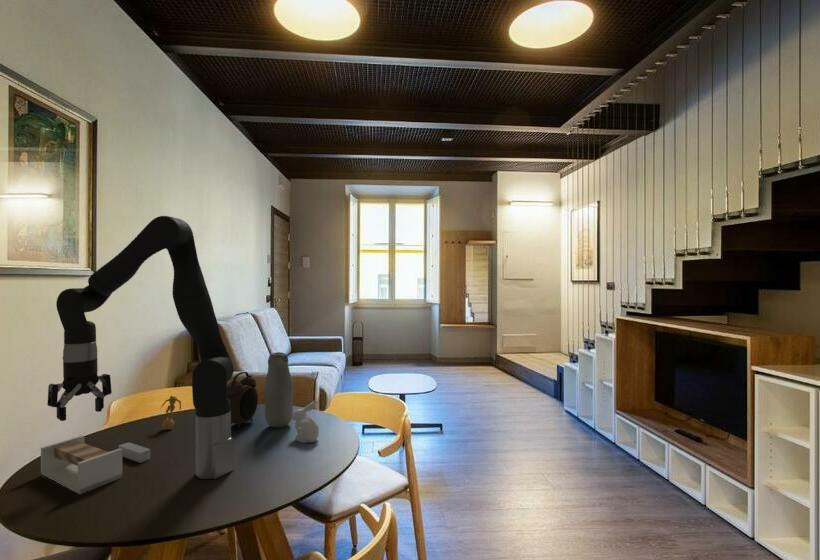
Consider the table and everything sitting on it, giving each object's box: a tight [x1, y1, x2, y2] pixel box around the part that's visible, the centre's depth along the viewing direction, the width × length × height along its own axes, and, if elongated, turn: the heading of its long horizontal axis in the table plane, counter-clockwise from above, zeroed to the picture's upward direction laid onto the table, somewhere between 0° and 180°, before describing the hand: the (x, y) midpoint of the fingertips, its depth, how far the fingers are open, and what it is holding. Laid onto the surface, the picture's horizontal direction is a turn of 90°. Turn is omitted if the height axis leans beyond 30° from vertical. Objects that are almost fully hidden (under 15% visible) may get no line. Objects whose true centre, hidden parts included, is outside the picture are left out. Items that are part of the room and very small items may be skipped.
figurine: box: [160, 395, 182, 431], centre depth 150 cm, size 8×6×12 cm
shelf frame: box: [40, 434, 123, 495], centre depth 113 cm, size 22×10×8 cm, turn 63°
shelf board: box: [54, 441, 109, 466], centre depth 114 cm, size 18×6×2 cm, turn 63°
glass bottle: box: [263, 352, 294, 429], centre depth 152 cm, size 10×10×28 cm
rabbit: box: [291, 400, 320, 444], centre depth 140 cm, size 12×9×12 cm
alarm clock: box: [227, 371, 259, 430], centre depth 154 cm, size 15×7×20 cm, turn 168°
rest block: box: [117, 442, 151, 464], centre depth 126 cm, size 12×3×3 cm, turn 63°
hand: (81, 415), depth 114 cm, fingers open, 8 cm apart
